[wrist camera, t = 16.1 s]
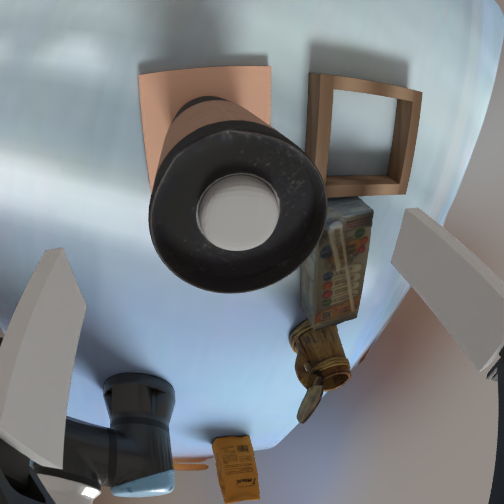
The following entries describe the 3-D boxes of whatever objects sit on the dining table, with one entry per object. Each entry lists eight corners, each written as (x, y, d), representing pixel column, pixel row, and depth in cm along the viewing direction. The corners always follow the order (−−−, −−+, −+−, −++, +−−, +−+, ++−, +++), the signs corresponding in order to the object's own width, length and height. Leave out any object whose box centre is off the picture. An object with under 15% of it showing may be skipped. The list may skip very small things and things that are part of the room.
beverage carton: (353, 188, 37) (380, 211, 31) (342, 293, 48) (360, 321, 43) (297, 197, 36) (318, 223, 31) (298, 305, 47) (312, 336, 42)
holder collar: (302, 188, 35) (311, 198, 33) (308, 73, 27) (320, 74, 25) (393, 185, 37) (405, 194, 35) (407, 88, 29) (422, 92, 27)
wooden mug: (282, 308, 46) (321, 407, 32) (344, 317, 52) (387, 398, 37) (258, 343, 50) (286, 435, 36) (318, 348, 56) (353, 425, 41)
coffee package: (243, 444, 83) (258, 501, 65) (207, 445, 78) (219, 506, 61) (254, 433, 78) (271, 496, 60) (215, 435, 74) (229, 502, 56)
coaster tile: (152, 190, 31) (151, 194, 30) (140, 75, 24) (138, 75, 23) (266, 179, 33) (269, 182, 33) (268, 66, 26) (271, 66, 25)
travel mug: (228, 172, 31) (284, 306, 15) (159, 153, 28) (130, 279, 12) (255, 107, 27) (361, 170, 11) (184, 83, 25) (178, 99, 8)
